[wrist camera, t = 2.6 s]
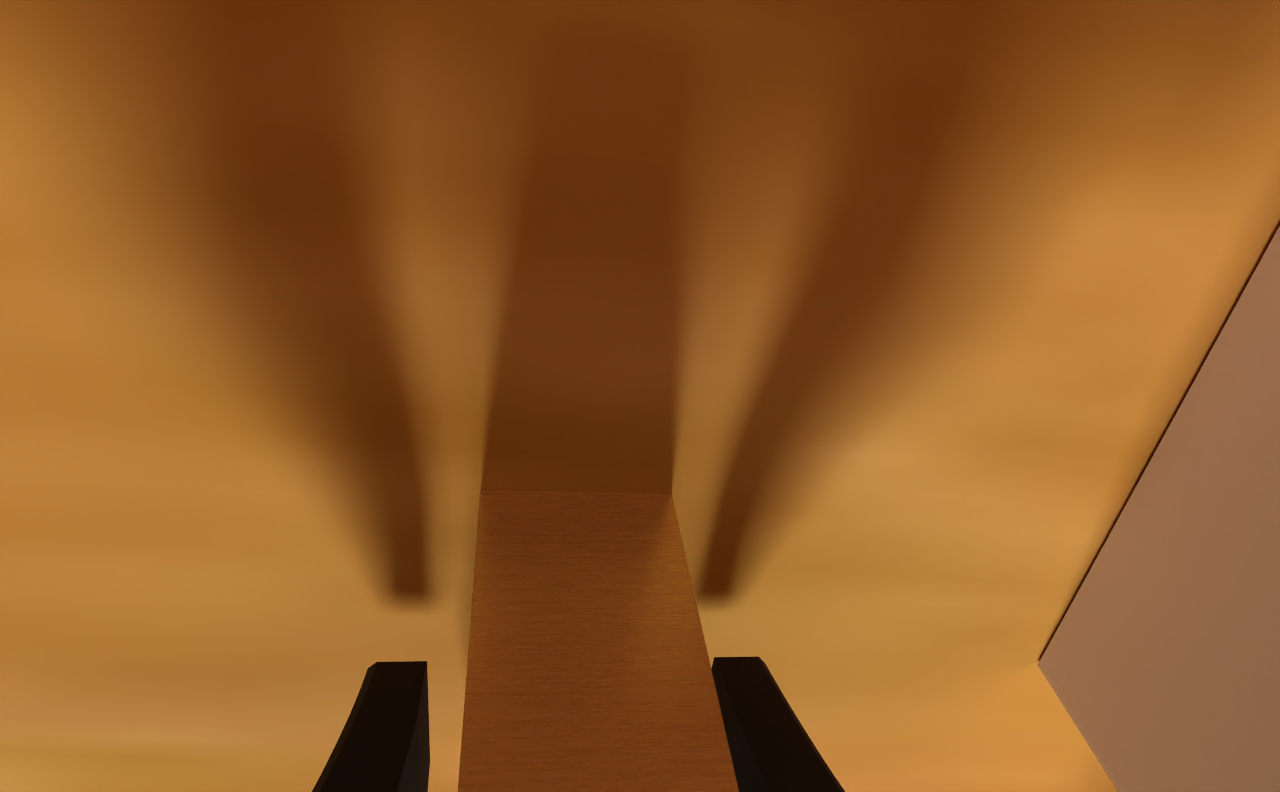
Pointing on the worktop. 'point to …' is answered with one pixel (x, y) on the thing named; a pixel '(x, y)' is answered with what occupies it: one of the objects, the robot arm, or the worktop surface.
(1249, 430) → the box
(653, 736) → the wooden block
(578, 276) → the worktop surface
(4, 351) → the worktop surface
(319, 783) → the robot arm
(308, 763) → the worktop surface
